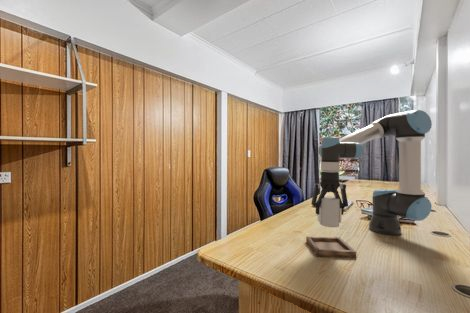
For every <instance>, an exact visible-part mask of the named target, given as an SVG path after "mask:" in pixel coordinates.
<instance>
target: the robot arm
mask: <svg viewBox="0 0 470 313" xmlns="http://www.w3.org/2000/svg"><path fill="white" fill-rule="evenodd" d="M432 125H433V124H432V119H431V116H430V115H429V114H428V113H427V112H426V111H424V110H421V109H415V110H409V111H403V112H396V113H392V114H388V115H386V116H384V117H382V118H379V119H377V120H374V121H372V122H370V123H369V124H368V125H367V126H366V127H363V128H360V129H359V130H356V131H354V132H351V133H350V134H348V135H345V136H342V137H338V136H325V137H322V138H321V143H320V145H319V147H318V150H317V152H318V154H319V156H320V158H321V159H320V160H321V161H320V171H321V172H320V182H319V183H314V184H313V193H312V197H311V205H312V206H314V207H315V215H317V222H318V223H320V222H321V207H320V205H321V203H322V198H324V196H326V194H327V193H333V195H334V197H335V198H337V199H340V203H339V224H341V223H342V216H344V213H345V212H344V211H345V210H344V209H345V208H346V207H348V206H349V204H348V203H349V202H348V196H347V191H346V190H347V185H346V184H344V183H340V172H339V171H340V159H352V160H353V159H359V158H361V157H362V155H363V153H364V147H363V144H366V143H369V142H370V141H372V140H374V139H377V140H378V139H381V138H384V137H395V140H397V141H398V142H399V143H398V146H399V149H398V150H399V152H398V153H399V154H398V159H399V160H398V163H399V164H398V173H399V174H398V175H399V176H398V177H399V179H398V183H399V184H398V185H399V186H398V189H374V190H373V191H372V198H371V199H372V216H371V218H370V221H369V223H368V229H369V230H370V231H373V232H375V233H378V234H383V235H391V236H397V235H401V234H402V227H401V225H400V222H399V220H398V219H399V218H398V217H400V218H405V219H407V220H413V221H416V222H417V221H418V222H420V221H423V220H425V219H426V218H428V216H430V213H431V211H432V202H431V201H430V199H428V198H427V197H426V194H425V191H423V190H422V185H421V184H422V178H421V177H422V140H424V139H425V138H426V134H427V133H429V132H430V131H431V129H432ZM320 188H321V192H320V194H319V189H320ZM338 189H340V194H341V196H340V194H339V191H338Z"/></svg>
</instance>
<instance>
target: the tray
mask: <svg viewBox="0 0 470 313" xmlns="http://www.w3.org/2000/svg"><path fill="white" fill-rule="evenodd" d="M305 242H306V244H307V245H308V246H309V247H310V249H311V250H312V252H313V253H314V255H315V256H316V257H317V258H342V259H343V258H346V259H347V258H349V259H350V258H352V259H353V258H354V259H356V258H357V251H356V250H355V249H354V248H352V246H350V245H349V244H348V243H347V242H346V241H344V240H343V239H342V238H341V237H340V236H339V237H338V236H337V237H336V236H306V240H305Z"/></svg>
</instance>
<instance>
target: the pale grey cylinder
mask: <svg viewBox="0 0 470 313" xmlns="http://www.w3.org/2000/svg"><path fill="white" fill-rule="evenodd" d="M339 203H340V199H337V198H335V196H328V195H325V196H324V198H322V203H321V205H320V207H321V222H319V225H320V226H323V227H324V228H325V227H327V228H339V227H340V223H339Z"/></svg>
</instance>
